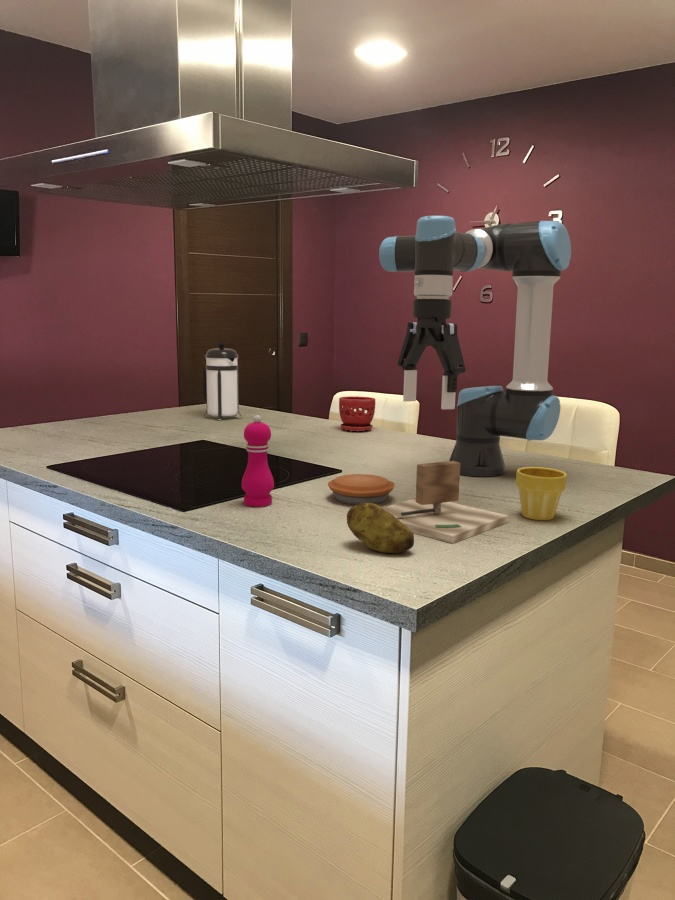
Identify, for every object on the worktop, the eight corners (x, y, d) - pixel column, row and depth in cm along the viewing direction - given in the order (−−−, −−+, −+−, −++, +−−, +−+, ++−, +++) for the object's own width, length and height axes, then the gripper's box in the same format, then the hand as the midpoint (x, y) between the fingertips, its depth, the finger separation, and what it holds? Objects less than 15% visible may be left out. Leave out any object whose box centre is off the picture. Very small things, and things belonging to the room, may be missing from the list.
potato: (385, 562, 126) (386, 518, 124) (339, 543, 135) (339, 502, 134) (419, 553, 131) (420, 510, 129) (372, 535, 140) (373, 495, 139)
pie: (331, 489, 176) (331, 469, 175) (395, 492, 174) (396, 472, 173) (323, 506, 161) (323, 484, 160) (393, 509, 159) (393, 487, 158)
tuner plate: (423, 502, 165) (423, 495, 165) (508, 522, 150) (508, 514, 150) (365, 519, 151) (365, 511, 151) (452, 543, 136) (452, 535, 136)
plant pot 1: (379, 432, 258) (380, 399, 256) (343, 433, 255) (343, 399, 253) (369, 426, 271) (369, 394, 268) (335, 427, 268) (335, 395, 265)
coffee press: (246, 415, 294) (245, 341, 289) (236, 421, 279) (235, 342, 273) (204, 414, 296) (202, 340, 290) (193, 420, 280) (191, 342, 275)
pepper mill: (258, 497, 167) (257, 411, 163) (280, 503, 163) (280, 415, 159) (235, 503, 162) (233, 415, 158) (257, 509, 157) (257, 418, 153)
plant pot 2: (571, 516, 156) (575, 471, 154) (550, 526, 148) (553, 479, 146) (527, 507, 162) (530, 464, 161) (504, 516, 155) (507, 471, 153)
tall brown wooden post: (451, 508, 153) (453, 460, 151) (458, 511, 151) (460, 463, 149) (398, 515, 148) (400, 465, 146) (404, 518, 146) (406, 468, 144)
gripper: (383, 298, 152) (380, 398, 156) (455, 296, 131) (449, 413, 134) (413, 299, 156) (409, 397, 160) (488, 298, 134) (481, 411, 138)
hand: (427, 405), depth 147 cm, fingers open, 13 cm apart
